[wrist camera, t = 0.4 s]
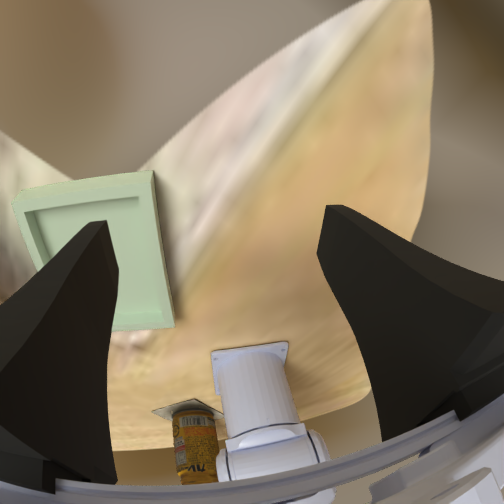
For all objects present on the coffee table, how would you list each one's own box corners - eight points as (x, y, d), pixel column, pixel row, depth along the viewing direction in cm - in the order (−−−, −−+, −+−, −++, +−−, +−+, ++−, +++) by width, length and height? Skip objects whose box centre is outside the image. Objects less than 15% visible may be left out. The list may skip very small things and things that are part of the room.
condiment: (186, 427, 42) (196, 497, 33) (150, 410, 37) (156, 491, 28) (226, 415, 41) (241, 489, 32) (194, 397, 36) (206, 485, 27)
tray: (174, 310, 26) (175, 327, 24) (72, 317, 24) (68, 333, 23) (152, 170, 18) (150, 182, 17) (21, 190, 16) (11, 202, 15)
